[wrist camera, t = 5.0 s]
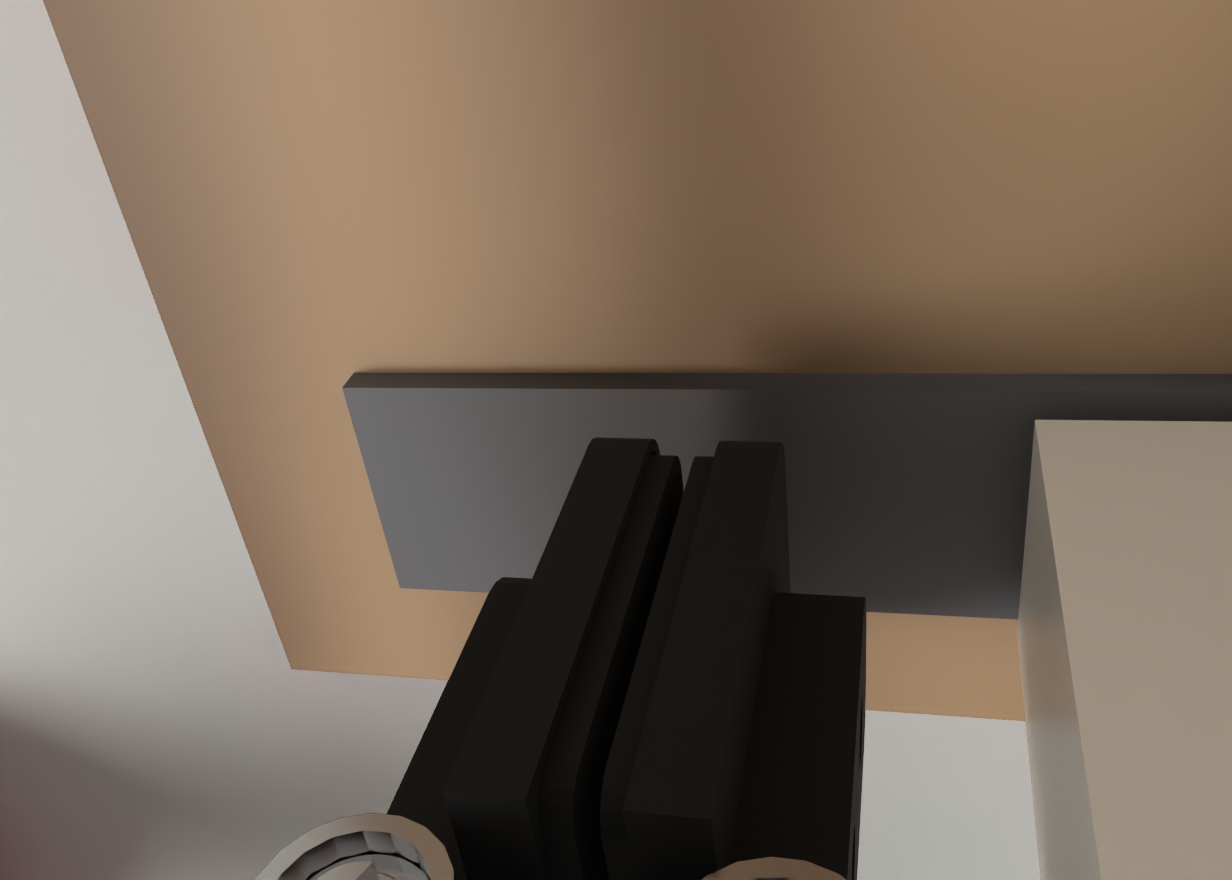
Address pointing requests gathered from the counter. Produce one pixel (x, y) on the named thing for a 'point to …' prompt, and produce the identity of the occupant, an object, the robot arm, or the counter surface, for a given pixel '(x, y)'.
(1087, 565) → the terracotta-capped tab
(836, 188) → the wooden board
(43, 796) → the counter surface
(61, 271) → the counter surface
